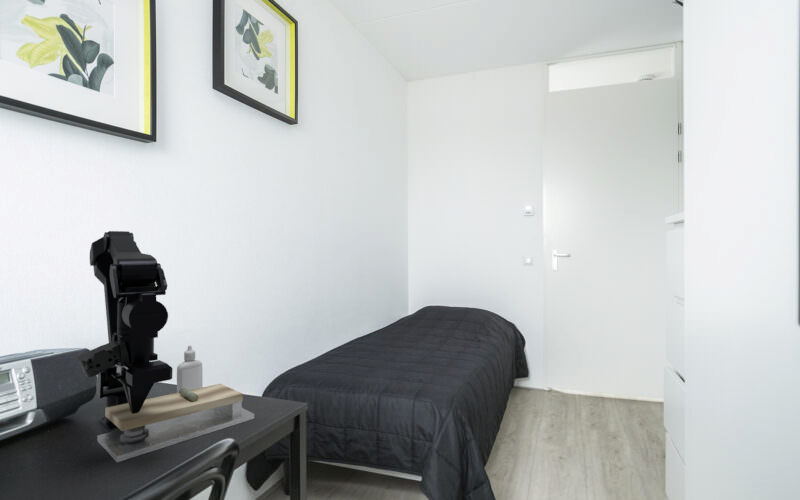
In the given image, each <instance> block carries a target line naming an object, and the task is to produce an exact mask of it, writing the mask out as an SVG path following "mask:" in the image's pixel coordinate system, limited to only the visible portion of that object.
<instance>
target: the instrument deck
mask: <svg viewBox="0 0 800 500" xmlns="http://www.w3.org/2000/svg"><path fill="white" fill-rule="evenodd" d="M243 400H244V393H243V392H240V391H238V390H236V389H234V388H231V387H230V386H226V385H224V384H222V383H217V384H212V385H207V386H202V388H197V389H193V390H187V389H186V388H181V389H180V390H179V392H178V393H177V392H173V393H169V394H165V395H159V396H156V397H155V396H154V397H151V398H146V400H145V402H144V404H143V406H142V408H141V409H140V411H139V413H134V414H132V413H131V411H130V407H129V404H128V403H126V404H121V405H116V406H111V407H107V408H106V407H105V410H104V417H107V418H108V419H109V420H110V421H111V422H112V423H114V424H115V425H116V426H117V428H118V430H121V431H124V430H128V429H132V428H136V427H140V426H144V425H148V424H152V423H156V422H160V421H165V420H169V419H173V418H177V417H181V416H185V415H189V414H193V413H197V412H201V411H205V410H209V409H213V408H217V407H221V406H225V405H229V404H233V403H237V402H241V401H242V402H244V401H243Z"/></svg>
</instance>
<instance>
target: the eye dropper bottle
mask: <svg viewBox="0 0 800 500" xmlns="http://www.w3.org/2000/svg"><path fill="white" fill-rule="evenodd" d="M183 358H184V359H183V360H184V361H182V362H181V363H179V364H178V365H177V367H176V393H178V392H179V390H180V389H181V388H186V389H187V390H193V389H197V388H202V387H203V362H202V361H200V360H197V359H196V350H193V347H192V345H188V346H187V350H185V351H184V352H183Z"/></svg>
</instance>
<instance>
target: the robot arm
mask: <svg viewBox="0 0 800 500" xmlns="http://www.w3.org/2000/svg"><path fill="white" fill-rule="evenodd" d="M89 265H90V266H91V267H92V266H93V273H94V277H95V278H96V279H97V280H98V281H99V282H100V283H101V284H102V285H103V289H104V303H105V313H106V314H105V315H106V325H107V327H106V328H107V337H108V343H105V344H102V345H100V346H98V347H97V346H96V347H95V348H93V349H91V350H88V351H86V352H84V353H82V354H78V355H77V356H76V361H77V362H78V365H79V366H80V369H81V371H82V374H84V375H85V376H86V377H87V378H93V377H96V382H95V385H96V386H95V387H96V395H97V396H98V398H99V399H103V398H105V408H107V407H111V406H116V405H121V404H126V403H128V404H129V407H130V411H131V413H132V414H134V413H139V411H140V409H141V408H142V406H143V404H144V402H145V400H146V399H148V398H147V397H148V395H149V394H150V392H151V390H152V388H153V386H154V384H155V383H160V382H166V381H171V380H172V379H173V367H172V366H171V365H169V363H167V362H164V361H162V360H158V357H159V355H158V354H157V353H155V338H156V339H157V338H159V332H160V331H161V330H162V329H163V328H164V327H165V326H166V325H167V322H168V319H169V312H168V310H167V308H166V306H165V305H164V304H163V303H162V302H161V301H158V300H157V296H164V295H165V296H166V294H167V293H166V291H167V289H168V283H167V279H166V276H165V272H164V269H163V268H162V265H161V264H160V263H158V261H157V259H156V257H154V256H153V255H151V254H149V253H142V252H141V250H140V248H139V246H138V245H137V241H135V239H134V233H133V232H130V231H129V230H128V231H126V230H123V231H120V230H109V231H107V232H104V234H103V236H102V237H100V238H99V239H97V240H95V241H93V242H92V243H91V246H90V249H89ZM99 422H100V423H101V424H103V426H104V427H106V429H108V430H113V429H116V428H118V427H117V426H116V425H115V424H114V423H112V422H111V421H110V420H109V419H108V418H107V417H106V416H104V417H102V418H100V419H99Z"/></svg>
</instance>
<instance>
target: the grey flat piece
mask: <svg viewBox="0 0 800 500" xmlns="http://www.w3.org/2000/svg"><path fill="white" fill-rule="evenodd" d="M242 403H243V401H241V402H237V403H233V404H229V405H225V406H221V407H217V408H213V409H209V410H205V411H201V412H197V413H193V414H189V415H185V416H181V417H177V418H173V419H169V420H165V421H160V422H156V423H152V424H148V425H144V426H140V427H136V428H132V429H128V430H124V431H121V430H120V429H117V430H114V431H113V430H112V431H109V432H106V433H103V434H98V435H97V436H96V437H97V439H96V440H97V443H98V444H99V445H100V446H101V447H102V448H103V449H104V450H105V451H106V453H108V455H110V456H111V458H112V459H113V460H114V461H115V462H116V463H121V462H123V461H126V460H128V459H132V458H136V457H138V456H142V455H144V454H147V453H151V452H154V451H158V450H160V449H163V448H167V447H171V446H173V445H176V444H179V443H182V442H186V441H189V440H192V439H194V438H198V437H200V436H203V435H204V436H205V435H207V434H210V433H213V432H217V431H220V430H222V429H226V428H228V427H232V426H235V425H236V426H237V425H238V424H239V425H240V424H241V423H244V422H249V421H251V420H253V419H255V413H253V412H251V411H250V410H247V409H245V408H244V407H243V406H242Z"/></svg>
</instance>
